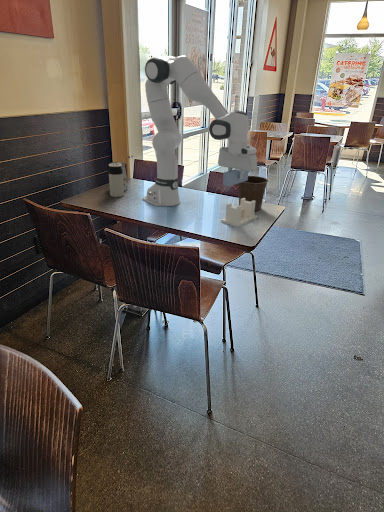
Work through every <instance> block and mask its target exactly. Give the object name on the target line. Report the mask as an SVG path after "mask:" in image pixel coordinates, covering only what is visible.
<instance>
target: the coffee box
mask: <svg viewBox="0 0 384 512" xmlns="http://www.w3.org/2000/svg"><path fill="white" fill-rule="evenodd" d="M113 163H118V164H122V166H121V168H122V170H123V186H124V191H128V189H129V186H128V168H127V167H128V166H127V163H124V162H121V161H113V162H110V164H113Z"/></svg>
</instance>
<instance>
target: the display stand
mask: <svg viewBox="0 0 384 512" xmlns="http://www.w3.org/2000/svg"><path fill="white" fill-rule="evenodd" d="M245 199H246V198H242V199H241V200H240V206H239V205H238V206H235V205H233V203H232V202H228V203H226V208H225V217H224V218H222V219H220V222H221V223H223V224H227V225H229V226H232V227H235V228H239V227H241V226H244V225H246V224H248V223H250V222H252V221H255V220H257V219H259V215H255V212H256V211H255V202H256V201H255V200H254V201H251V202H249V201H245Z"/></svg>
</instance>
